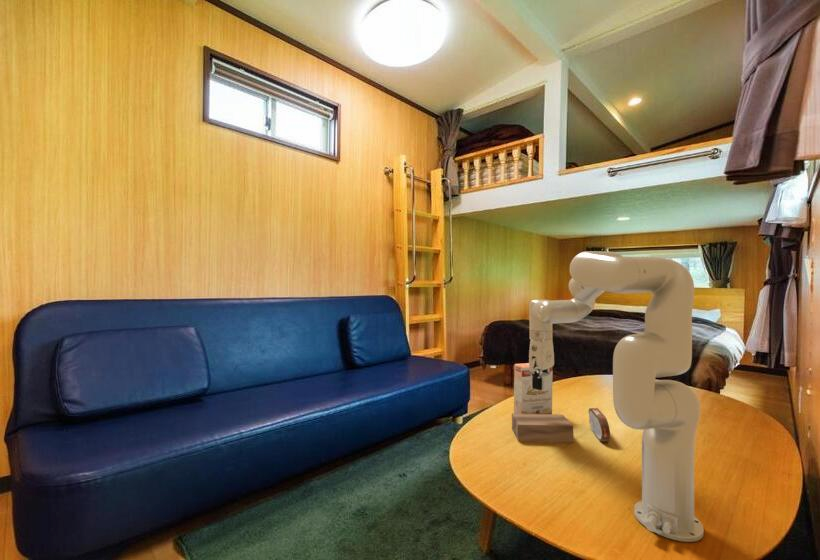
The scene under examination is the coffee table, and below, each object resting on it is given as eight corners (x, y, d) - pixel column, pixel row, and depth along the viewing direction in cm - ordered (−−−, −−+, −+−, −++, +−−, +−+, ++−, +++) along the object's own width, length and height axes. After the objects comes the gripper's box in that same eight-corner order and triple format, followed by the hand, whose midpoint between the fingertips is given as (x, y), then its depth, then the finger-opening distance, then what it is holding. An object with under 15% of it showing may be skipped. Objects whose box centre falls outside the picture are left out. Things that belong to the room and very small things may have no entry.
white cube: (544, 391, 120) (544, 376, 120) (530, 388, 123) (530, 373, 123) (551, 388, 123) (551, 373, 123) (537, 385, 127) (537, 371, 127)
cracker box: (522, 421, 136) (521, 367, 135) (513, 415, 141) (513, 363, 141) (553, 417, 139) (553, 364, 139) (543, 412, 145) (543, 361, 145)
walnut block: (573, 444, 118) (573, 426, 118) (518, 442, 119) (518, 424, 119) (562, 431, 128) (562, 414, 128) (511, 429, 129) (511, 413, 129)
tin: (611, 446, 115) (611, 420, 115) (600, 445, 116) (600, 419, 116) (596, 427, 130) (596, 404, 130) (587, 426, 131) (587, 403, 131)
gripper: (539, 339, 115) (539, 395, 115) (561, 333, 126) (562, 384, 127) (518, 336, 120) (518, 390, 120) (541, 331, 132) (541, 380, 132)
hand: (540, 386), depth 123 cm, fingers closed on white cube, 5 cm apart
